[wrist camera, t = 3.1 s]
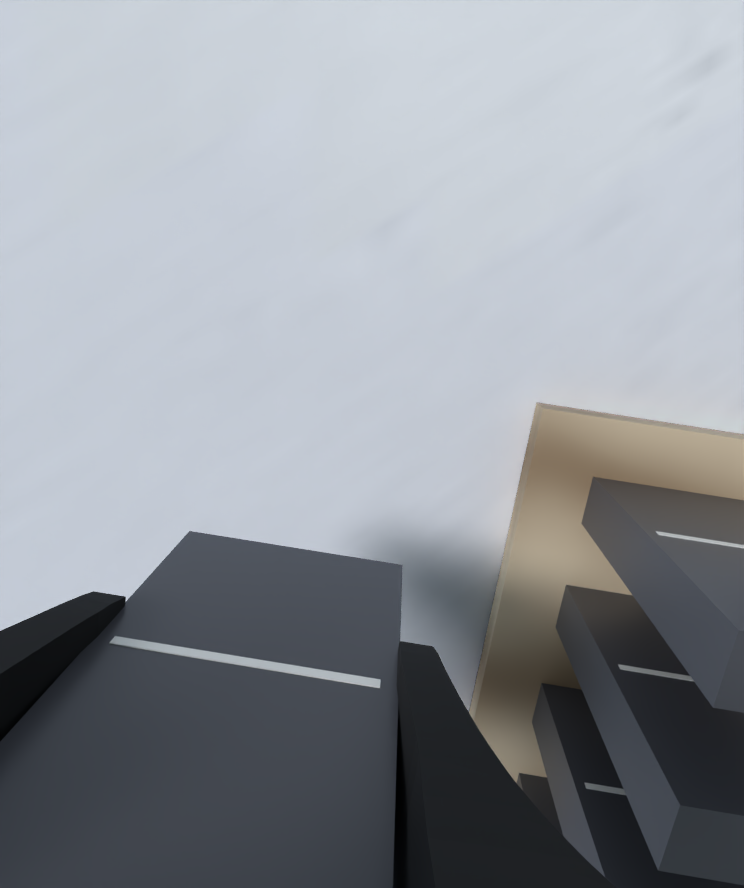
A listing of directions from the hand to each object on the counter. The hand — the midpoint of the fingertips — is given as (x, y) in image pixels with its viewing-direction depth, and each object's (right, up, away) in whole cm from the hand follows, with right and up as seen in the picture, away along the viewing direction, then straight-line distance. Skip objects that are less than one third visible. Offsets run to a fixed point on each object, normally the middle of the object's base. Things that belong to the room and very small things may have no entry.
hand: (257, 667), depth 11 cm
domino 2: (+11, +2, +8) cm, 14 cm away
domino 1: (0, +1, +3) cm, 3 cm away
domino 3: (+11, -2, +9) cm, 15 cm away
